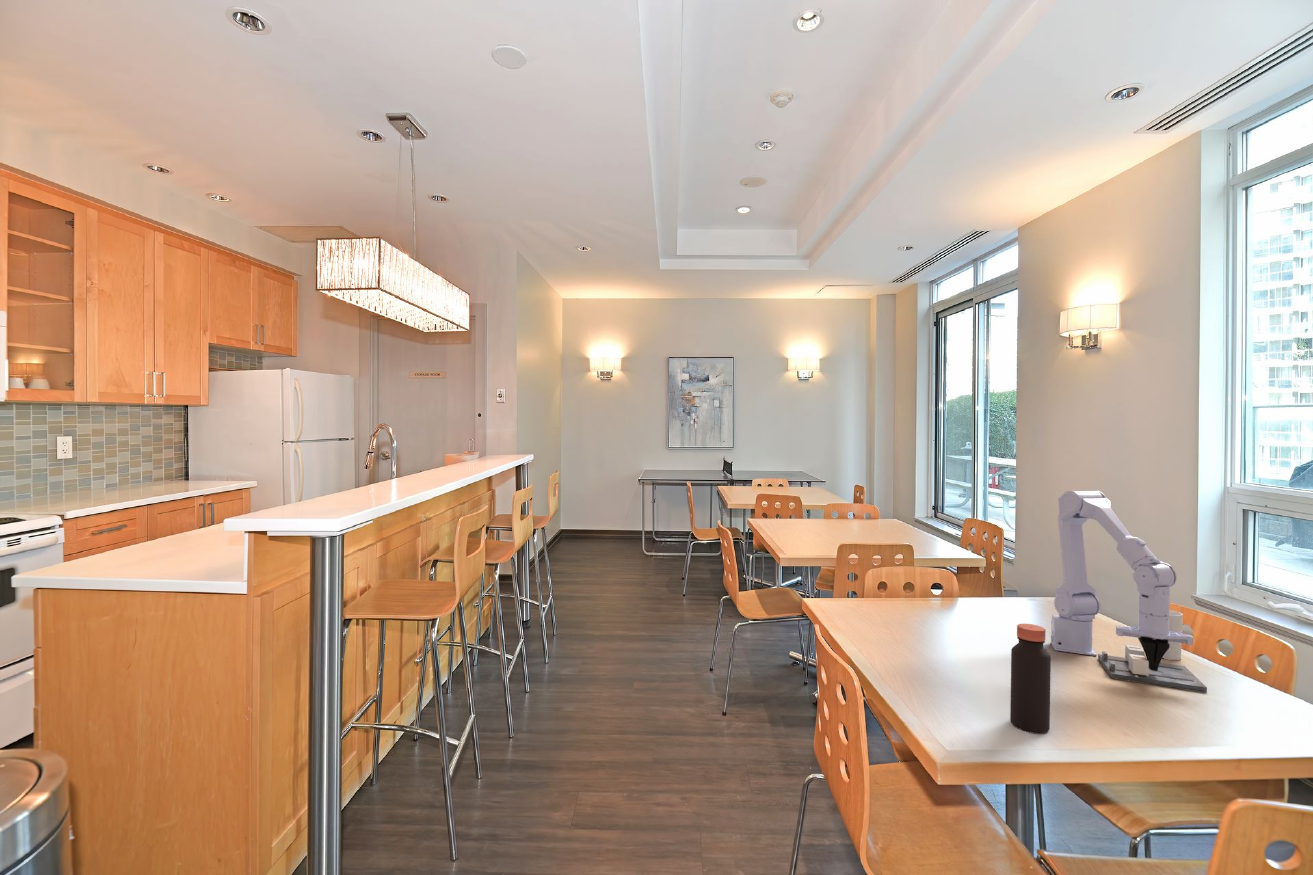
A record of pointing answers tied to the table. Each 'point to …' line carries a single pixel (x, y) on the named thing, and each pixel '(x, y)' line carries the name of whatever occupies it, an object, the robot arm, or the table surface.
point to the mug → (1176, 626)
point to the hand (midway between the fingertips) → (1152, 669)
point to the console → (1152, 674)
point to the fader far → (1133, 651)
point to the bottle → (1030, 680)
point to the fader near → (1138, 664)
